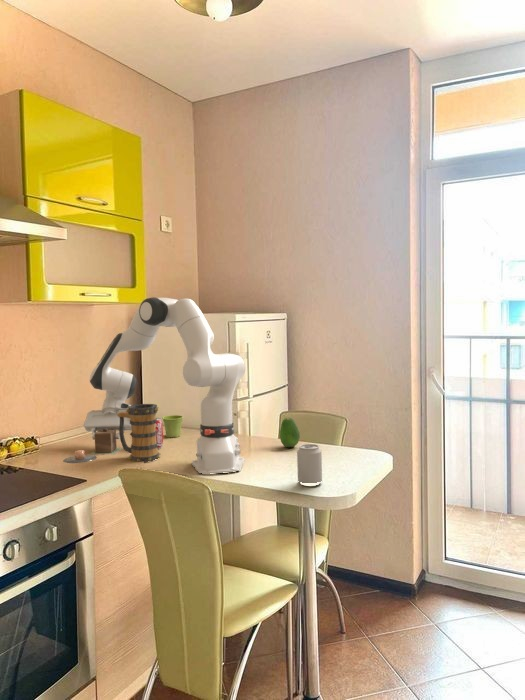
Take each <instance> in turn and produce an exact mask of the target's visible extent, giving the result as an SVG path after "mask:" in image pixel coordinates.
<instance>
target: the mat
mask: <svg viewBox="0 0 525 700" xmlns="http://www.w3.org/2000/svg"><path fill="white" fill-rule="evenodd" d="M122 449H123V447H117V449H116V450H115V451H114V452H112V453H95V450H94V451H93V452H91V453H89V454H88V455H93V456H97V455H116V454H117V453H118V452H120V450H122Z"/></svg>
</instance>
